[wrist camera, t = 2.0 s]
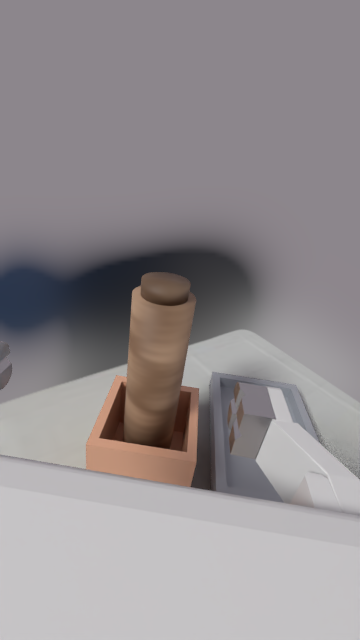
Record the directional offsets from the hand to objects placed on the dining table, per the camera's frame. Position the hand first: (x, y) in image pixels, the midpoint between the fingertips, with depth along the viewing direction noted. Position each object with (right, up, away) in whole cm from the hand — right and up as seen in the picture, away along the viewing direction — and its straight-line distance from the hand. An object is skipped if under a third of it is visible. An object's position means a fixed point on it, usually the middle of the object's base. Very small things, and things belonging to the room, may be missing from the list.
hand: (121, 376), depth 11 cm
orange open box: (-2, -13, +20) cm, 24 cm away
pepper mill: (-1, -12, +20) cm, 23 cm away
